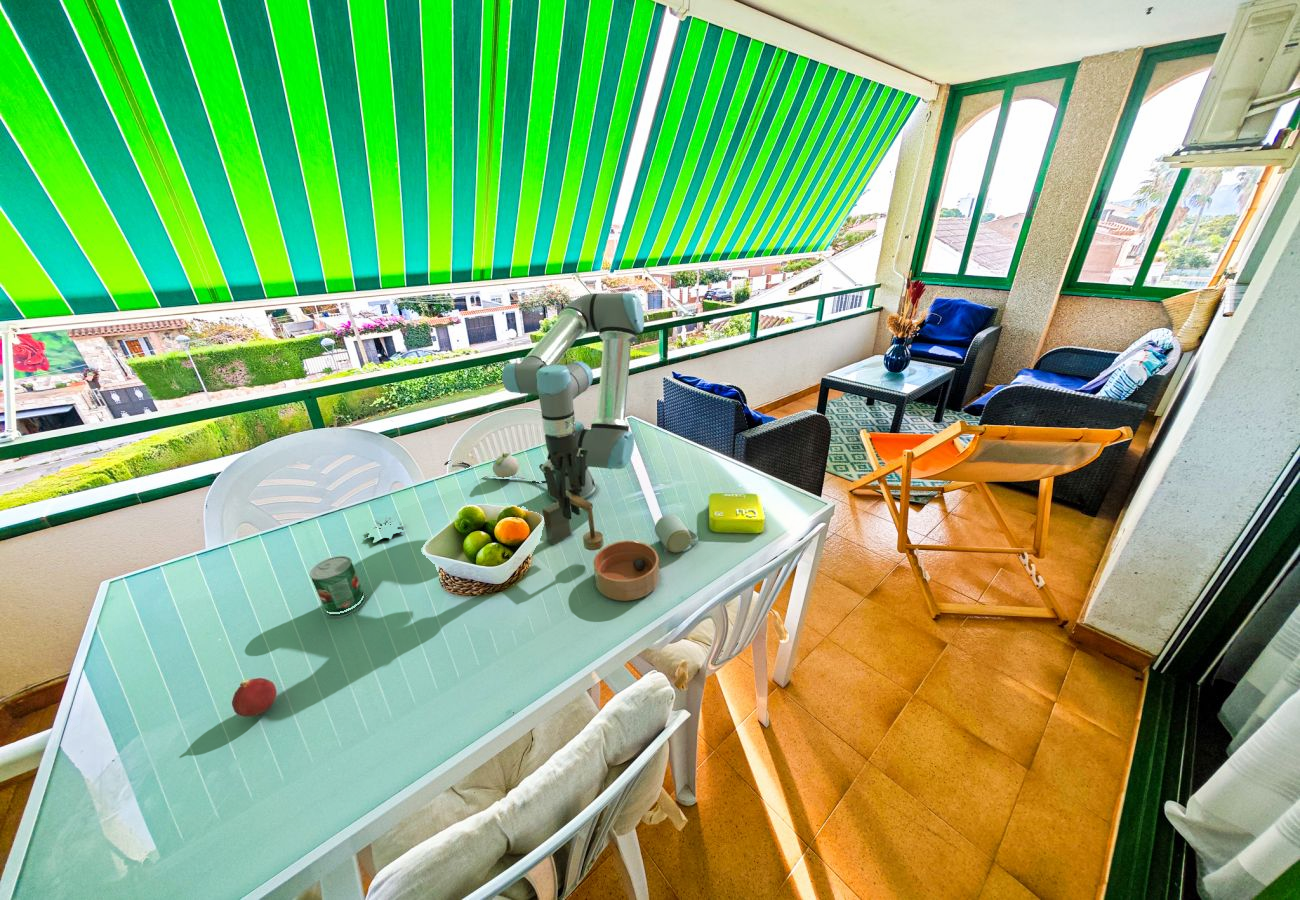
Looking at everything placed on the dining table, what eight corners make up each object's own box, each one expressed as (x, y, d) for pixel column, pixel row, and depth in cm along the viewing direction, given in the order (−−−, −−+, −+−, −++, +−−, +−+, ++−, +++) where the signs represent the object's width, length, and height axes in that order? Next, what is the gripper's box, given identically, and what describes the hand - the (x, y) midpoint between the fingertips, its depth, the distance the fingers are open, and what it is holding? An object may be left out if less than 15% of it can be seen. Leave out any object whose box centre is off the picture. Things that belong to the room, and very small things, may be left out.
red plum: (257, 698, 84) (239, 667, 81) (290, 695, 85) (273, 664, 81) (234, 729, 79) (214, 697, 76) (269, 725, 79) (250, 693, 76)
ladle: (548, 525, 125) (542, 488, 120) (562, 518, 128) (557, 481, 123) (592, 553, 113) (588, 513, 108) (607, 543, 116) (603, 504, 111)
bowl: (582, 582, 110) (580, 562, 108) (627, 552, 120) (626, 533, 118) (627, 612, 100) (625, 591, 98) (672, 577, 110) (671, 557, 108)
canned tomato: (373, 597, 108) (359, 559, 103) (343, 621, 101) (327, 581, 97) (348, 590, 110) (334, 553, 106) (317, 613, 104) (300, 574, 99)
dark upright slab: (547, 540, 126) (542, 508, 122) (564, 531, 130) (560, 499, 126) (553, 545, 124) (548, 512, 120) (571, 535, 128) (567, 503, 124)
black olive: (630, 569, 113) (630, 559, 111) (639, 563, 115) (638, 554, 113) (639, 575, 111) (639, 565, 110) (648, 568, 113) (647, 559, 112)
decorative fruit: (516, 485, 157) (511, 459, 152) (492, 486, 157) (487, 459, 153) (523, 472, 165) (519, 447, 161) (501, 473, 165) (496, 448, 161)
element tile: (758, 505, 139) (759, 491, 137) (764, 534, 125) (765, 519, 123) (708, 504, 140) (708, 491, 138) (709, 532, 127) (709, 518, 125)
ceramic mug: (667, 558, 117) (667, 532, 114) (654, 540, 124) (654, 516, 121) (703, 547, 121) (704, 522, 118) (689, 531, 128) (689, 507, 125)
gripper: (543, 446, 102) (556, 533, 112) (594, 425, 112) (602, 508, 122) (524, 438, 106) (539, 522, 116) (575, 419, 116) (584, 498, 126)
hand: (571, 515), depth 119 cm, fingers closed on ladle, 2 cm apart
